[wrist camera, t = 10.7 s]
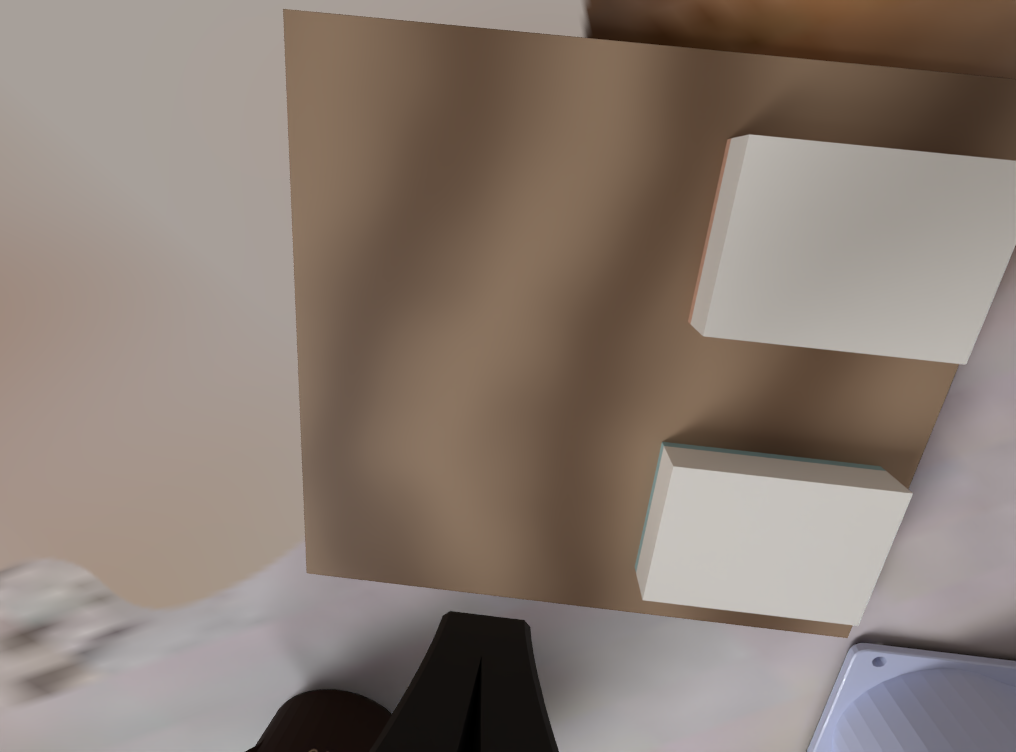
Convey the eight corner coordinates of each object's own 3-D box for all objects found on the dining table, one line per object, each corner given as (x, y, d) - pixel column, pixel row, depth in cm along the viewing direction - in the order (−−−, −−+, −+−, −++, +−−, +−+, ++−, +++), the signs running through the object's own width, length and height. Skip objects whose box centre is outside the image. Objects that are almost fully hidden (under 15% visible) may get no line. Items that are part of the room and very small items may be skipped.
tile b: (727, 139, 14) (995, 165, 14) (687, 321, 16) (925, 347, 16) (749, 134, 13) (1049, 163, 13) (702, 336, 15) (966, 364, 14)
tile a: (661, 441, 17) (880, 466, 17) (634, 567, 19) (833, 590, 19) (673, 466, 16) (912, 493, 16) (642, 600, 18) (858, 625, 17)
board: (1031, 92, 15) (1073, 84, 13) (830, 613, 21) (847, 638, 20) (302, 21, 15) (282, 8, 14) (319, 552, 21) (306, 573, 20)
